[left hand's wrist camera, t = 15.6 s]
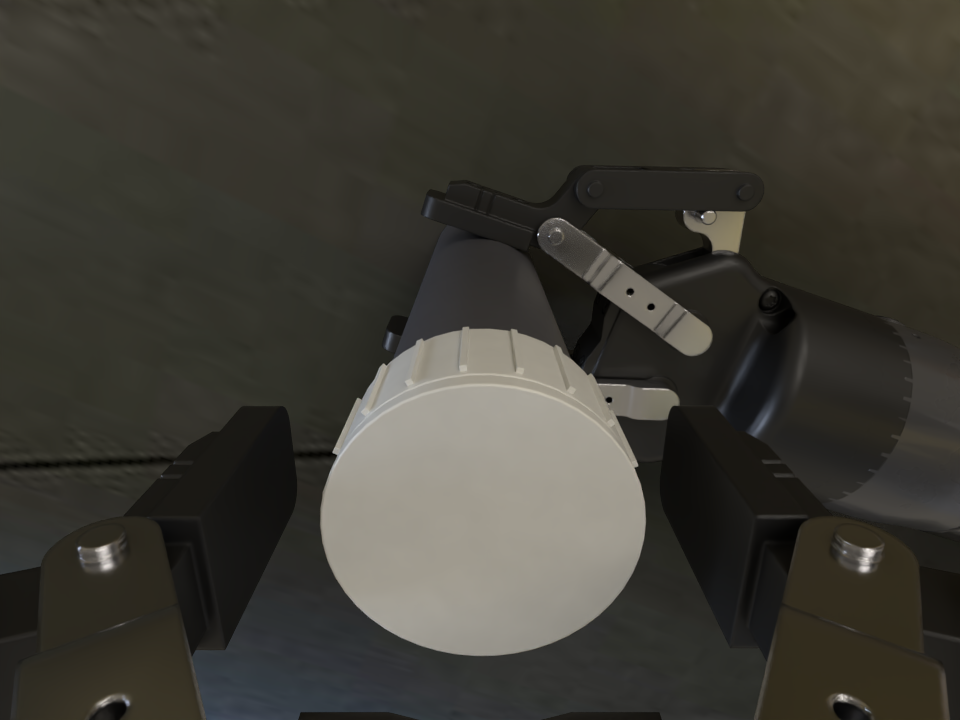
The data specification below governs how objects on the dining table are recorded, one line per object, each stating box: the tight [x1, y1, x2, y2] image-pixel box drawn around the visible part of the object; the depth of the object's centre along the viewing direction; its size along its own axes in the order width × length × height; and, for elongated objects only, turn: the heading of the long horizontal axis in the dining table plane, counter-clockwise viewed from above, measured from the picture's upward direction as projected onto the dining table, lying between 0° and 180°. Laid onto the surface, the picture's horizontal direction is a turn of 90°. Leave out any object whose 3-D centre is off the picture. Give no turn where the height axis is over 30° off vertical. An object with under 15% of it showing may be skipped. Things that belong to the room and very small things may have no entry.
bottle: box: [393, 225, 571, 360], centre depth 18 cm, size 4×4×20 cm
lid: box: [320, 327, 646, 656], centre depth 10 cm, size 5×5×2 cm
